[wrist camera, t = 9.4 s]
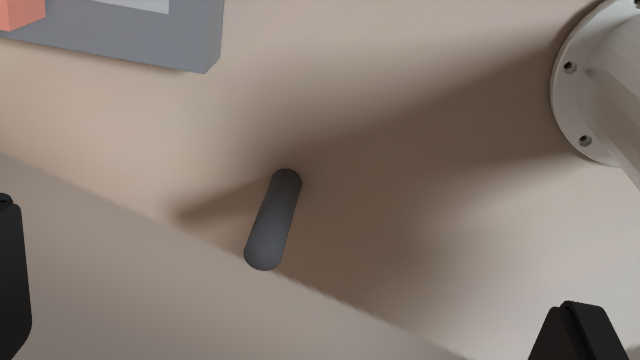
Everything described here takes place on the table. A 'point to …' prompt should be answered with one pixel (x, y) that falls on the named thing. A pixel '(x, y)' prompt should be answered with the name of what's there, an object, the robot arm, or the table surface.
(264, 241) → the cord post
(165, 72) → the table surface
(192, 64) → the box
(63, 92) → the table surface
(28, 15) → the switch
